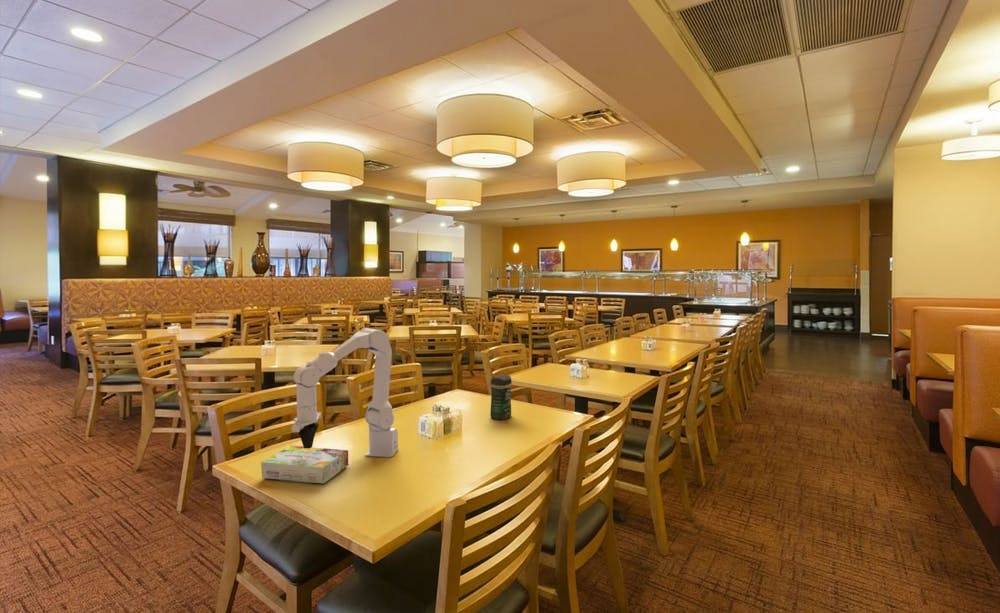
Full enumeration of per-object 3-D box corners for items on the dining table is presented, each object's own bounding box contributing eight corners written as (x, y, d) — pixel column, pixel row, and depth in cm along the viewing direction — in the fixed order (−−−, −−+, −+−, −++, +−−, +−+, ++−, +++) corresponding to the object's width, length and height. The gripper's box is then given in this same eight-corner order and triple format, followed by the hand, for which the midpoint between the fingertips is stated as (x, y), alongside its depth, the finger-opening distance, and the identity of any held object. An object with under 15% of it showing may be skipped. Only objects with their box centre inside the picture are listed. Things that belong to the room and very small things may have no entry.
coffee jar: (503, 421, 207) (503, 378, 206) (487, 418, 211) (487, 376, 210) (514, 415, 215) (514, 374, 214) (499, 413, 219) (499, 372, 218)
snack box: (348, 448, 158) (323, 467, 143) (349, 464, 159) (324, 485, 144) (290, 444, 162) (259, 462, 147) (291, 460, 163) (260, 480, 148)
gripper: (306, 398, 159) (307, 439, 160) (281, 411, 144) (283, 455, 145) (326, 399, 158) (327, 440, 159) (304, 411, 144) (305, 456, 145)
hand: (307, 447), depth 152 cm, fingers closed
